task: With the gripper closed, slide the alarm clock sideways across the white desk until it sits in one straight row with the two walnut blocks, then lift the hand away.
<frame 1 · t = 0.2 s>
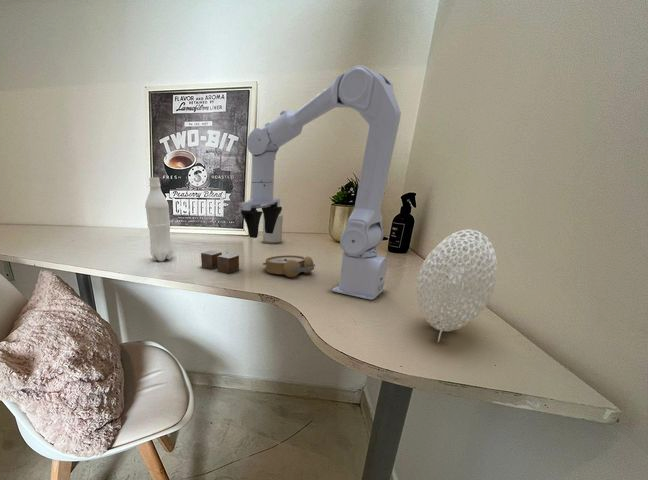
hand: (261, 235, 92), 10 cm above the table, tool pointing down, fingers open, 7 cm apart
can: (272, 242, 132), on the table
walnut block near: (228, 270, 96), on the table
alarm clock: (289, 273, 94), on the table
water bottle: (162, 259, 110), on the table
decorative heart: (441, 331, 60), on the table
walnut block far: (211, 267, 100), on the table
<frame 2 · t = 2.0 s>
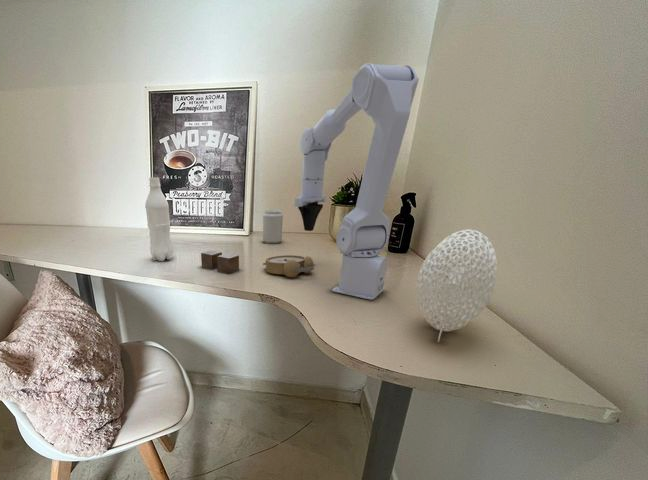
hand: (308, 230, 96), 10 cm above the table, tool pointing down, fingers closed
nothing on the table moved.
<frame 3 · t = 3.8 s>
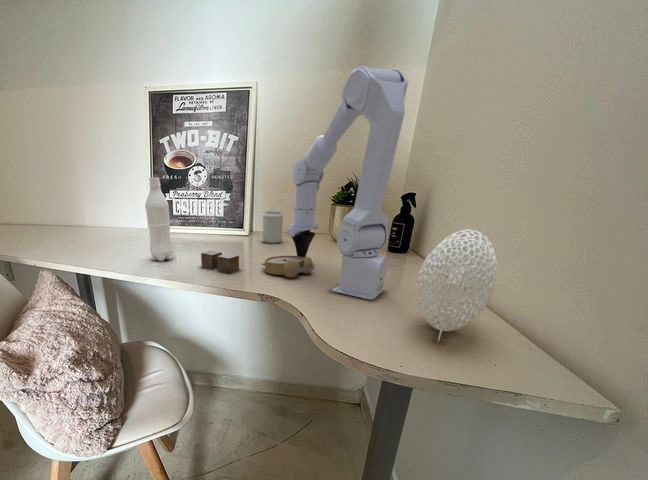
hand: (301, 257, 97), 3 cm above the table, tool pointing down, fingers closed
alarm clock: (288, 273, 94), on the table, touching gripper
everything else where it was.
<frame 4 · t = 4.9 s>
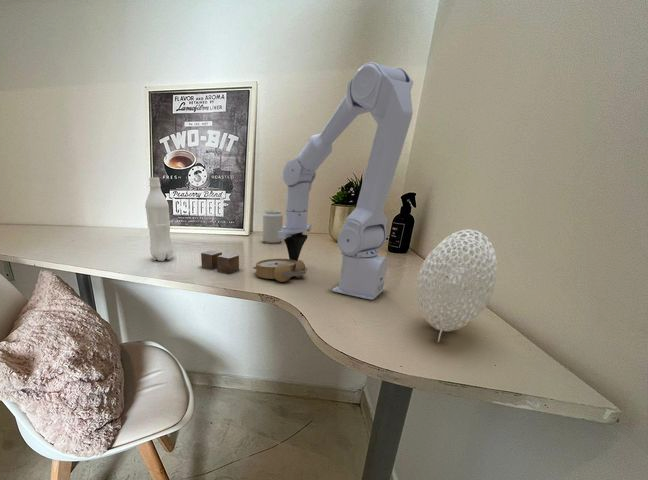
hand: (293, 260, 94), 3 cm above the table, tool pointing down, fingers closed
alarm clock: (280, 277, 90), on the table, touching gripper
everything else where it was.
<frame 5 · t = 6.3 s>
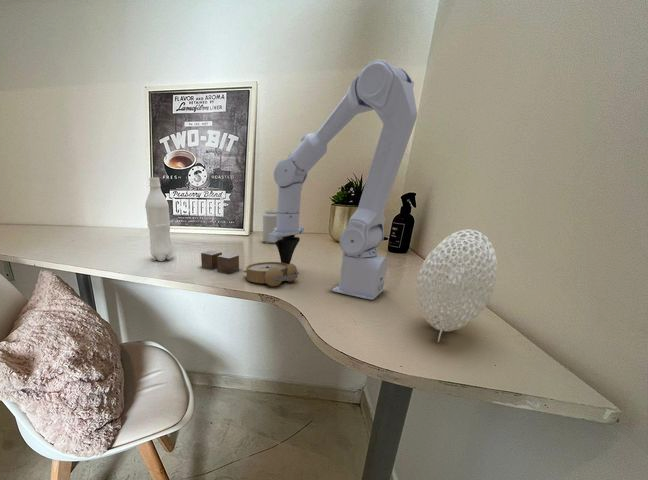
hand: (285, 264, 91), 3 cm above the table, tool pointing down, fingers closed
alarm clock: (272, 281, 87), on the table, touching gripper
everything else where it was.
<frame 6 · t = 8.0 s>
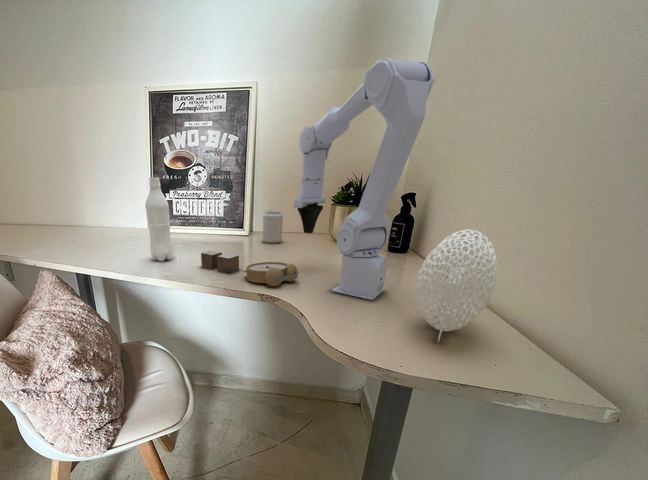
hand: (308, 232, 92), 10 cm above the table, tool pointing down, fingers closed
alarm clock: (272, 281, 87), on the table
everything else where it was.
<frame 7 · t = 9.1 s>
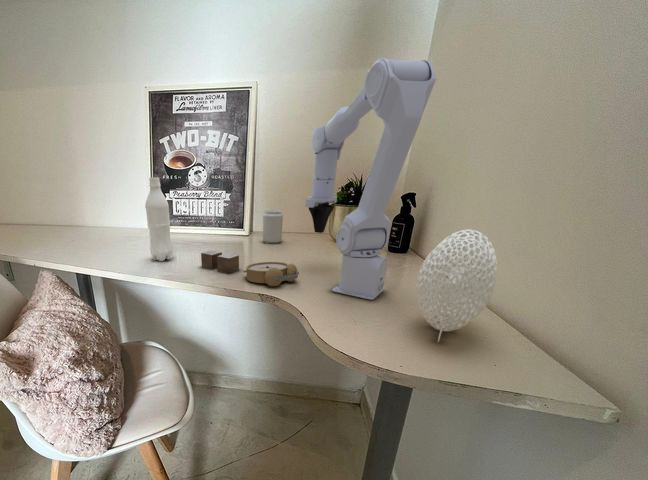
hand: (319, 232, 93), 10 cm above the table, tool pointing down, fingers closed
nothing on the table moved.
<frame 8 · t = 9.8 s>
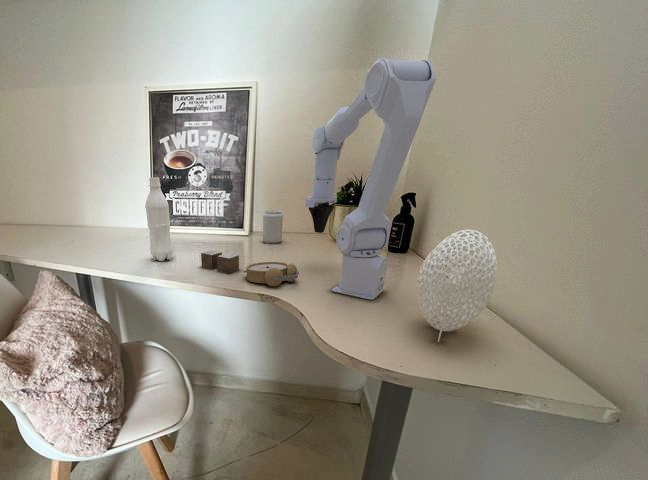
hand: (319, 232, 93), 10 cm above the table, tool pointing down, fingers closed
nothing on the table moved.
at the end: alarm clock 0.3 cm from the target spot, on the table; alarm clock tilted 2°; walnut block near moved 0.0 cm from its start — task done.
